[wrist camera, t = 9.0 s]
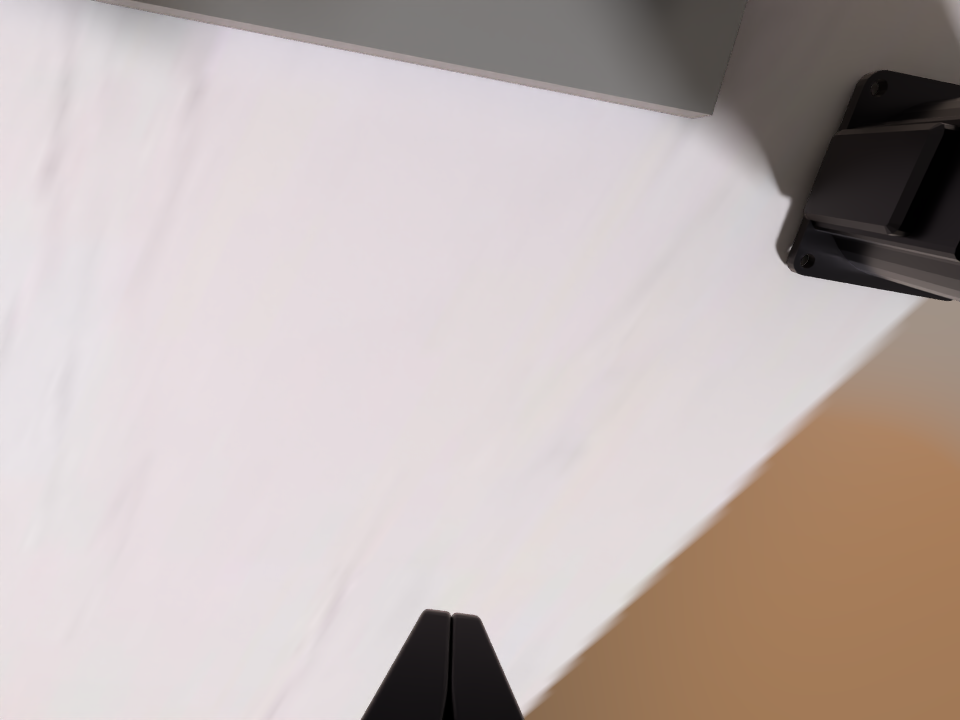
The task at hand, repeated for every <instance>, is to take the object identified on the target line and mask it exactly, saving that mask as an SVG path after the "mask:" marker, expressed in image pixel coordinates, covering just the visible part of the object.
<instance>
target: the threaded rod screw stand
mask: <svg viewBox="0 0 960 720" xmlns="http://www.w3.org/2000/svg"><path fill="white" fill-rule="evenodd" d="M93 1H98V2H103V3H108V4H113V5H118V6H123V7H128V8H133V9H138V10H144V11H149V12H154V13H159V14H164V15H169V16H174V17H179V18H184V19H189V20H194V21H199V22H204V23H210V24H215V25H220V26H225V27H230V28H235V29H240V30H245V31H250V32H255V33H260V34H265V35H271V36H276V37H281V38H286V39H291V40H296V41H301V42H306V43H311V44H316V45H321V46H326V47H332V48H337V49H342V50H347V51H352V52H357V53H362V54H367V55H372V56H377V57H382V58H387V59H393V60H398V61H403V62H408V63H413V64H418V65H423V66H428V67H433V68H438V69H443V70H448V71H454V72H459V73H464V74H469V75H474V76H479V77H484V78H489V79H494V80H499V81H504V82H509V83H514V84H520V85H525V86H530V87H535V88H540V89H545V90H550V91H555V92H560V93H565V94H570V95H575V96H581V97H586V98H591V99H596V100H601V101H606V102H611V103H616V104H621V105H626V106H631V107H636V108H642V109H647V110H652V111H657V112H662V113H667V114H672V115H677V116H682V117H687V118H692V119H693V118H699V117H705V116H710V115H712V114H713V110H714V107H715V104H716V101H717V98H718V94H719V91H720V88H721V85H722V81H723V78H724V75H725V72H726V68H727V65H728V62H729V59H730V55H731V52H732V49H733V46H734V43H735V39H736V36H737V33H738V30H739V26H740V23H741V20H742V17H743V13H744V10H745V7H746V4H747V1H748V0H93Z"/></svg>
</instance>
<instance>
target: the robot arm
mask: <svg viewBox="0 0 960 720" xmlns="http://www.w3.org/2000/svg"><path fill="white" fill-rule="evenodd" d="M874 82H877V84H878V86H879V87H878V92H877V93H876V95H875V96H873V95H872V94H871V86H872V85H873V83H874ZM804 214H805V215H804V218H803V220H802V223H801V225H800V228H799V231H798V233H797V236H796V238H795V241H794V243H793V246H792V248H791V251H790V253H789V256H788V260H787V264H788V268H789V269H790V270H791V271H793V272H795V273H798V274H801V275H804V276H810V277H815V278H821V279H827V280H832V281H838V282H843V283H849V284H855V285H860V286H866V287H871V288H877V289H882V290H888V291H894V292H899V293H905V294H910V295H916V296H921V297H927V298H933V299H938V300H944V301H951V300H956V301H959V302H960V85H956V84H951V83H946V82H941V81H936V80H931V79H927V78H922V77H917V76H912V75H907V74H903V73H898V72H893V71H888V70H880V71H875V72H871V73H868V74H866V75H864V76H863V77H862V78H861V79H860V80H859V82H858V83H857V85H856V87H855V89H854V92H853V94H852V97H851V99H850V102H849V104H848V107H847V109H846V112H845V114H844V117H843V119H842V122H841V125H840V127H839V130H838V132H837V134H836V135H834V136H833V137H832V139H831V142H830V144H829V147H828V150H827V152H826V155H825V157H824V160H823V162H822V165H821V167H820V170H819V172H818V175H817V177H816V180H815V183H814V185H813V188H812V190H811V193H810V195H809V198H808V200H807V203H806V205H805V208H804ZM807 254H808V256H809V258H808V261H807V263H806V264H805V265H803V266H801V264H800V263H801V259H802V258H803V256H805V255H807ZM361 720H524V717H523V715H522V713H521V711H520V708H519V706H518V704H517V701H516V699H515V697H514V694H513V692H512V690H511V688H510V685H509V683H508V681H507V678H506V676H505V674H504V671H503V669H502V667H501V665H500V662H499V660H498V658H497V655H496V653H495V651H494V649H493V646H492V644H491V642H490V639H489V637H488V635H487V632H486V630H485V628H484V626H483V623H482V621H481V619H480V618H479V617H478V616H476V615H470V614H463V613H454V614H453V615H452V616H451V615H450V613H449V612H447V611H440V610H433V609H426V610H424V611H423V612H422V614H421V615H420V617H419V619H418V621H417V622H416V624H415V626H414V628H413V629H412V631H411V633H410V635H409V636H408V638H407V640H406V642H405V643H404V645H403V647H402V649H401V650H400V652H399V654H398V656H397V657H396V659H395V661H394V663H393V664H392V666H391V668H390V670H389V671H388V673H387V675H386V677H385V678H384V680H383V682H382V684H381V685H380V687H379V689H378V691H377V692H376V694H375V696H374V698H373V699H372V701H371V703H370V705H369V706H368V708H367V710H366V711H365V713H364V715H363V717H362V718H361Z"/></svg>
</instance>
